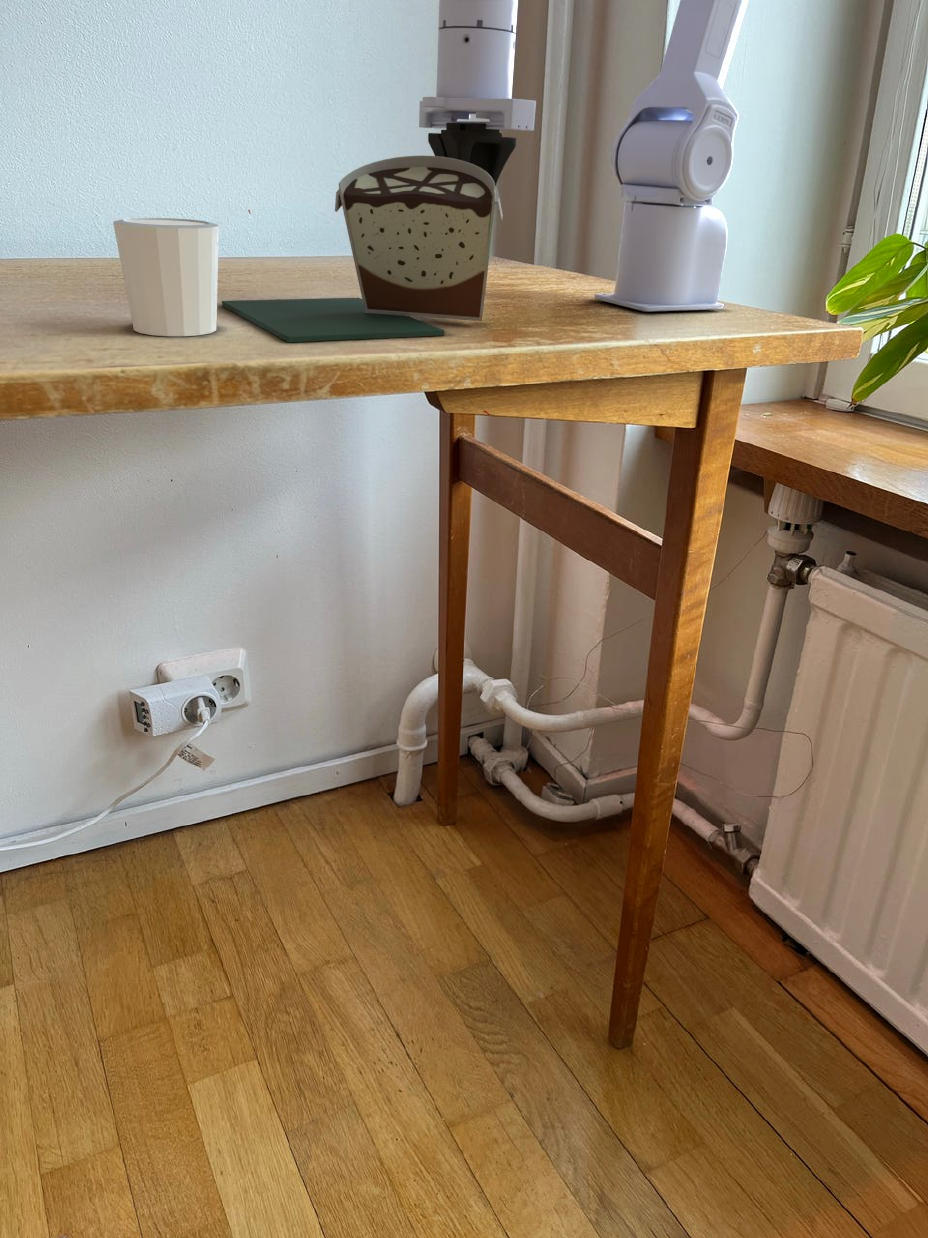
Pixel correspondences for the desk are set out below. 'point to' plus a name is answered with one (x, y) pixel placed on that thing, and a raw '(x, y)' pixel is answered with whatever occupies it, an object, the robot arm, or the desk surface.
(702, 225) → the robot arm
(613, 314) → the desk surface
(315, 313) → the mat
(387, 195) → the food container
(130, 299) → the white cup
